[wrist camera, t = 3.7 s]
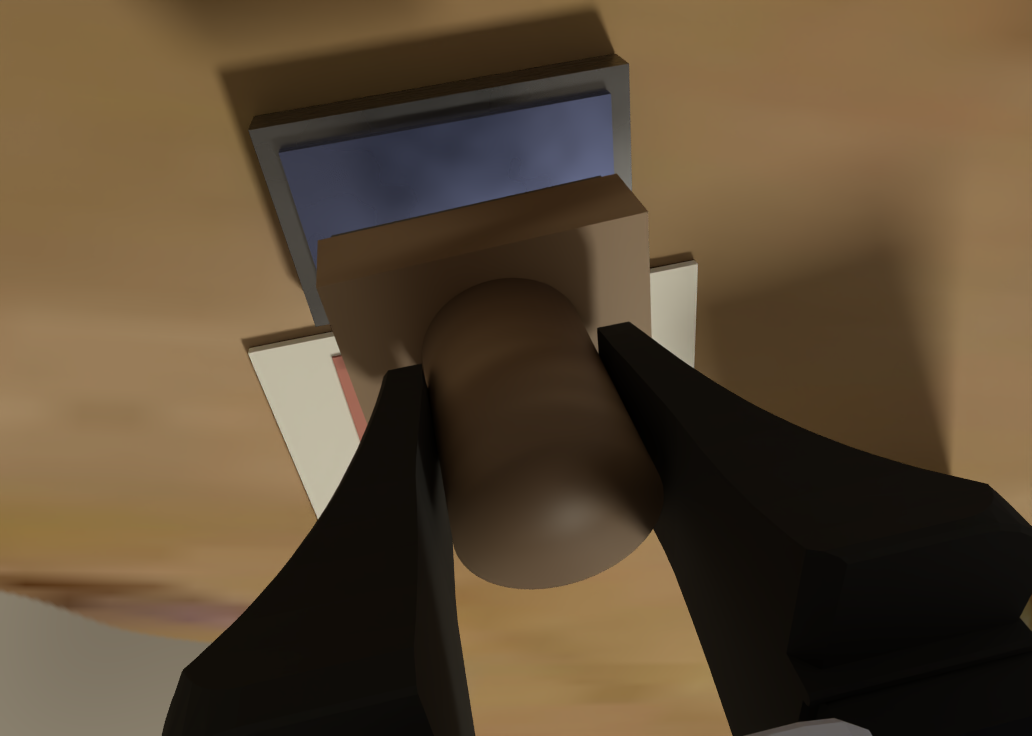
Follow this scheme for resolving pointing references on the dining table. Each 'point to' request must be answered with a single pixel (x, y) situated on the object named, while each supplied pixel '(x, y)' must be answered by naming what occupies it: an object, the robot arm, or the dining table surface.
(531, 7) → the dining table surface
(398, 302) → the stamp
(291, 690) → the robot arm
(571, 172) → the ink pad
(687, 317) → the sheet
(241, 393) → the dining table surface
